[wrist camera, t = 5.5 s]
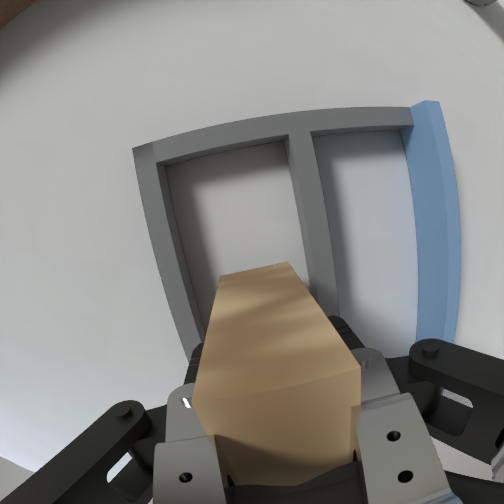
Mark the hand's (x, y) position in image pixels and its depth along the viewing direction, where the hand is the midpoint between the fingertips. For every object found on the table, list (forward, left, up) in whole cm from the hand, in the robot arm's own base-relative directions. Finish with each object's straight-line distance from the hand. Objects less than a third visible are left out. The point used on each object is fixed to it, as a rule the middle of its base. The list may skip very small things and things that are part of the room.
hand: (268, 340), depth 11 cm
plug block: (0, 0, -2) cm, 2 cm away
